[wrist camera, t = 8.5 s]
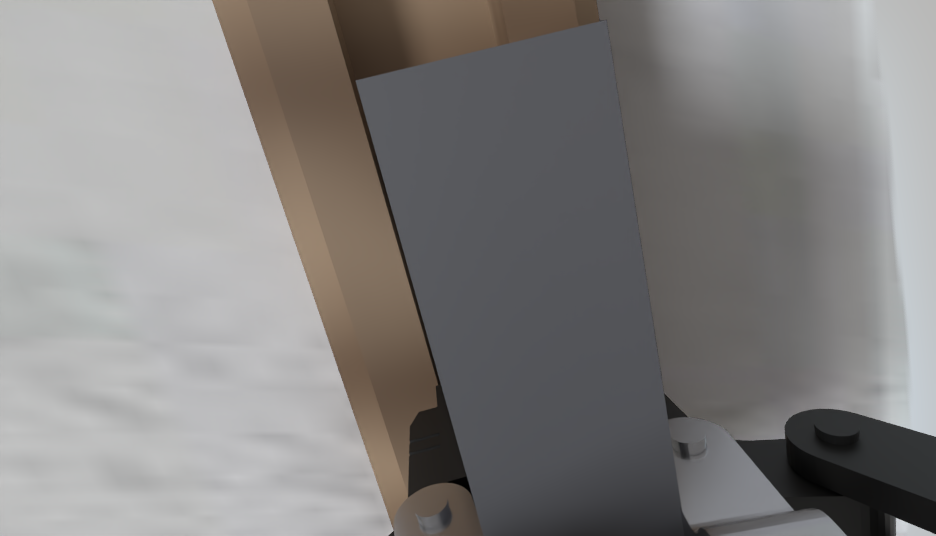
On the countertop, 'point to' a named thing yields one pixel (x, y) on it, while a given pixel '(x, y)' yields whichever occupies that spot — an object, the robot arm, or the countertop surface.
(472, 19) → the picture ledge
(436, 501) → the robot arm
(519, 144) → the grey photo frame
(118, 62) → the countertop surface
